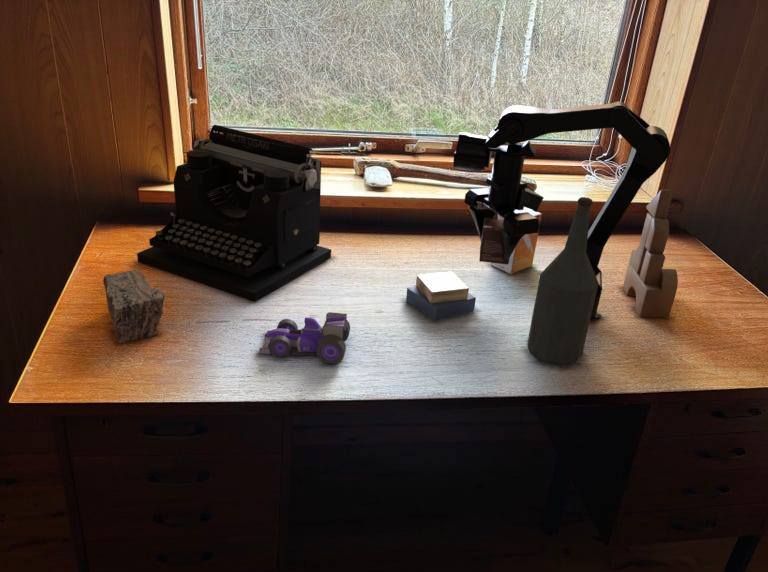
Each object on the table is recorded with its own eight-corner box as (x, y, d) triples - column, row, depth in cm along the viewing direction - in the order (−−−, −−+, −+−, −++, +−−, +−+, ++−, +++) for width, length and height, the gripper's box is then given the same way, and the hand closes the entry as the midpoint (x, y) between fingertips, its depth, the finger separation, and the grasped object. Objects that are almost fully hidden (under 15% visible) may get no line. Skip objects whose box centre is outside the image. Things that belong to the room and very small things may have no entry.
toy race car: (269, 331, 137) (268, 300, 134) (349, 339, 137) (351, 307, 134) (257, 358, 129) (256, 325, 125) (343, 366, 129) (344, 333, 126)
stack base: (474, 310, 151) (476, 297, 149) (435, 321, 145) (436, 308, 144) (444, 291, 157) (445, 278, 156) (405, 300, 152) (406, 287, 151)
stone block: (171, 337, 132) (167, 299, 129) (118, 346, 128) (112, 307, 124) (154, 303, 143) (150, 266, 139) (104, 310, 139) (98, 273, 135)
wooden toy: (670, 318, 155) (704, 204, 142) (639, 317, 154) (670, 201, 141) (648, 286, 168) (677, 178, 155) (620, 284, 168) (646, 176, 154)
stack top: (467, 299, 148) (469, 288, 147) (430, 303, 145) (432, 292, 144) (451, 282, 154) (452, 271, 153) (415, 285, 152) (416, 274, 150)
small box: (510, 274, 167) (519, 220, 160) (489, 265, 171) (497, 211, 164) (533, 266, 172) (542, 213, 166) (512, 257, 176) (520, 204, 169)
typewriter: (137, 261, 158) (123, 144, 144) (223, 225, 178) (216, 119, 165) (254, 302, 146) (250, 178, 133) (331, 257, 167) (333, 147, 154)
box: (508, 254, 153) (514, 220, 150) (508, 265, 148) (514, 231, 144) (479, 250, 154) (484, 216, 150) (478, 262, 149) (483, 227, 145)
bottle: (569, 373, 133) (605, 214, 117) (519, 356, 137) (547, 199, 121) (587, 349, 141) (623, 197, 125) (539, 334, 144) (568, 184, 129)
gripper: (569, 188, 139) (554, 264, 147) (513, 158, 152) (502, 230, 160) (520, 193, 134) (507, 271, 142) (467, 161, 148) (458, 235, 156)
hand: (494, 250), depth 150 cm, fingers closed on box, 8 cm apart
